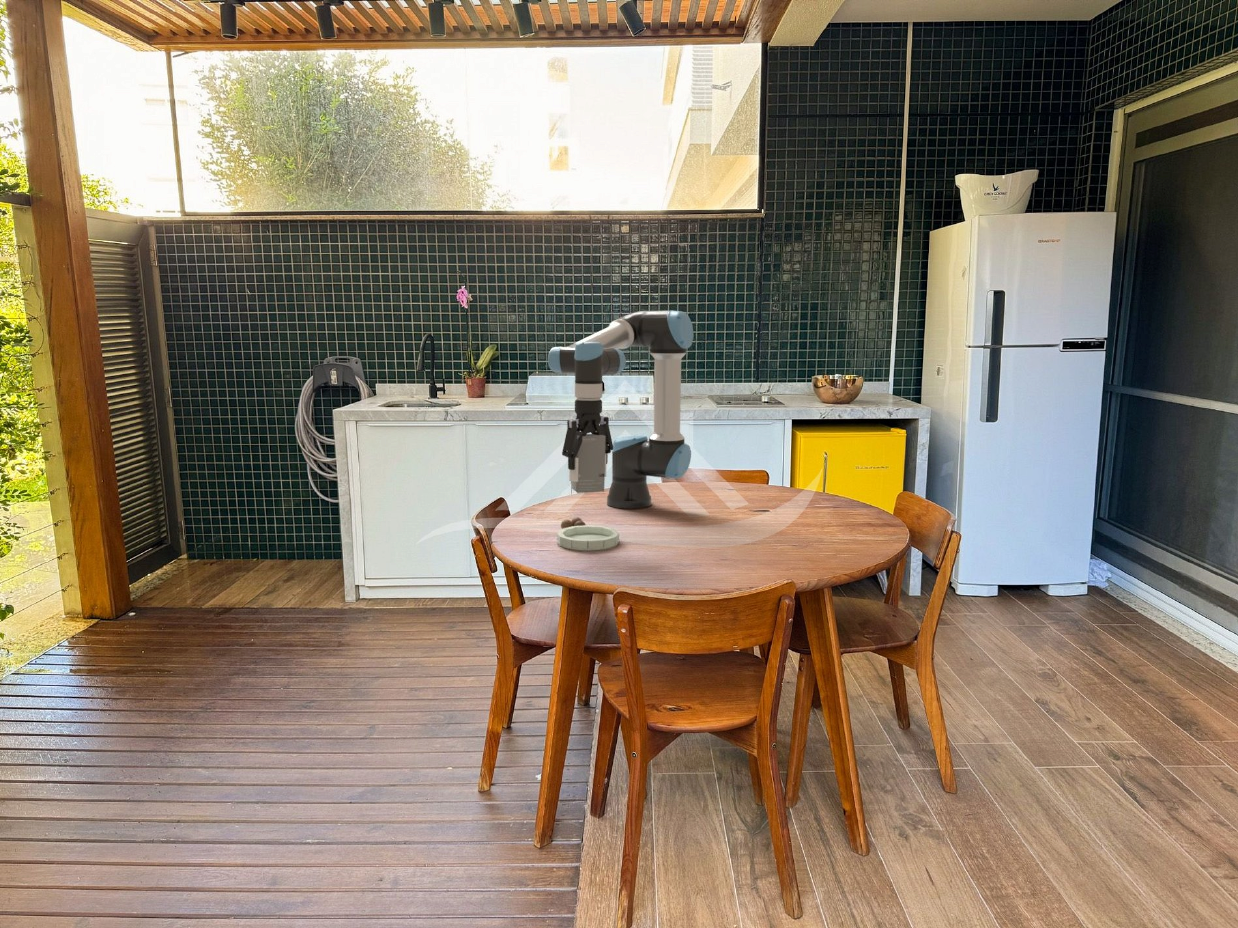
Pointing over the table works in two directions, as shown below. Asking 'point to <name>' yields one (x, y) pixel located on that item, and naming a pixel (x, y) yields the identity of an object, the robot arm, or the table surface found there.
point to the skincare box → (591, 464)
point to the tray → (588, 538)
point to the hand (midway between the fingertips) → (588, 478)
